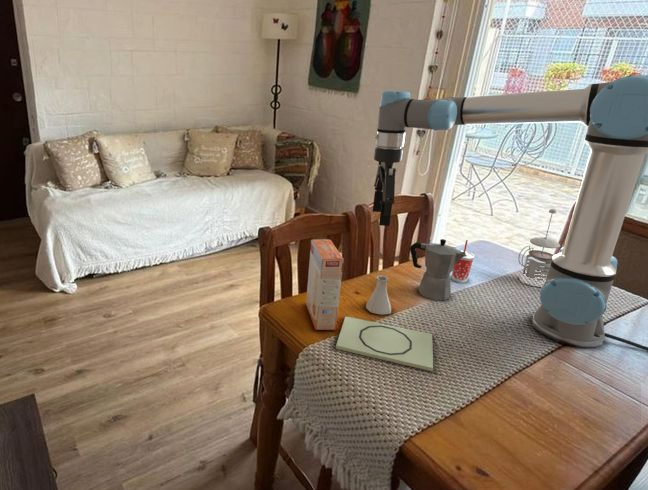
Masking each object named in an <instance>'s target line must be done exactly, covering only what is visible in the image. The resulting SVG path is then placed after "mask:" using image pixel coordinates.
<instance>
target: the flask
mask: <svg viewBox="0 0 648 490" xmlns="http://www.w3.org/2000/svg"><path fill="white" fill-rule="evenodd" d="M376 281H377V282H376V285H375V287H374V289H373V292H372V294H371V295H370V297H369V298H368V300H367V302H366V305H365V309H367V311H369V313H371V314H376V315H381V316H382V315H383V316H384V315H391V313H392V305H391V302H390V299H389V295H388V294H389V293H388V287H387V284H388V281H389V277H388V276H386V275H376Z"/></svg>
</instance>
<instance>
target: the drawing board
mask: <svg viewBox="0 0 648 490" xmlns="http://www.w3.org/2000/svg"><path fill="white" fill-rule="evenodd" d="M433 346H434V345H433V334H432V333H429V332H424V331H419V330H414V329H410V328H405V327H399V326H395V325H390V324H386V323H381V322H375V321H371V320H366V319H361V318H356V317H353V316H347V315H345V317H344V320H343V322H342V326H341V328H340V332H339V335H338V338H337V341H336V345H335V349H336V350H340V351H343V352H348V353H353V354H357V355H361V356H365V357H368V358H374V359H377V360H381V361H386V362H389V363H394V364H399V365H401V366H402V365H403V366H407V367H411V368H416V369H420V370H424V371H428V372H433V371H434V349H433V348H434V347H433Z"/></svg>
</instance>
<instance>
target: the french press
mask: <svg viewBox="0 0 648 490" xmlns="http://www.w3.org/2000/svg"><path fill="white" fill-rule="evenodd" d="M548 213H549V214H551V216H550V219H549V222H548V226H547V231H546V235H545V236H537V237H536V236H535V237H532V238H530V239H529V243H530V244H532V245H534V246H536V247H540V248H542V250H539V249H534V247H531V245H526V246H524V247H523V248H522V249H521V250H520V251H519V253H518V260H517V261H518V264H519V265H521V266H522V267H523V269H522V273H523V274H525V270H527V273H526V276H527V277H530V278H535V277H542V278H547V277H546V276H541V275H535V276H534V274H545V275H548V271H549V268H550V264H551V260H552V257H553V256H554V255H555V254H553V253H550V252H548V251H545V250H544V249H559V248H560V247H561V244H560V243H559V242H558V241H556V240H554V239H553V238H549V237H548V233H549V229H550V225H551V222H552V217H553V214H557V210H556V209H555V208H550V209H549V210H548ZM526 248H527V250H526V251H524V250H525V249H526ZM523 251H524V253H523ZM526 252H528V254H527V255H526V257H525V261H523V259H524V256H525V254H526ZM521 253H523V254H522V256H521ZM520 257H521V260H520ZM523 262H524V263H523ZM535 270H537V271H541V272H537V271H535ZM537 280H543V279H537Z"/></svg>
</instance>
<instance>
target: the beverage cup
mask: <svg viewBox="0 0 648 490" xmlns="http://www.w3.org/2000/svg"><path fill="white" fill-rule="evenodd" d="M468 241H469V240H468V239H466V240H465V243H464V248H463V250H461V251H462V252H464V253H465V254H466V256H464V257H462V258H461V259H460V260H459V261H458V262H457V263H456V264H455V265H454V268H453V271H452V272H451V280H452V281H454V282H457V283H462V284H464V283H467V282H468V280H469V275H470V272H471V268H472V264H473V262H474V260H475V254H473V253H472V252H469V251H467V246H468Z"/></svg>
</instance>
